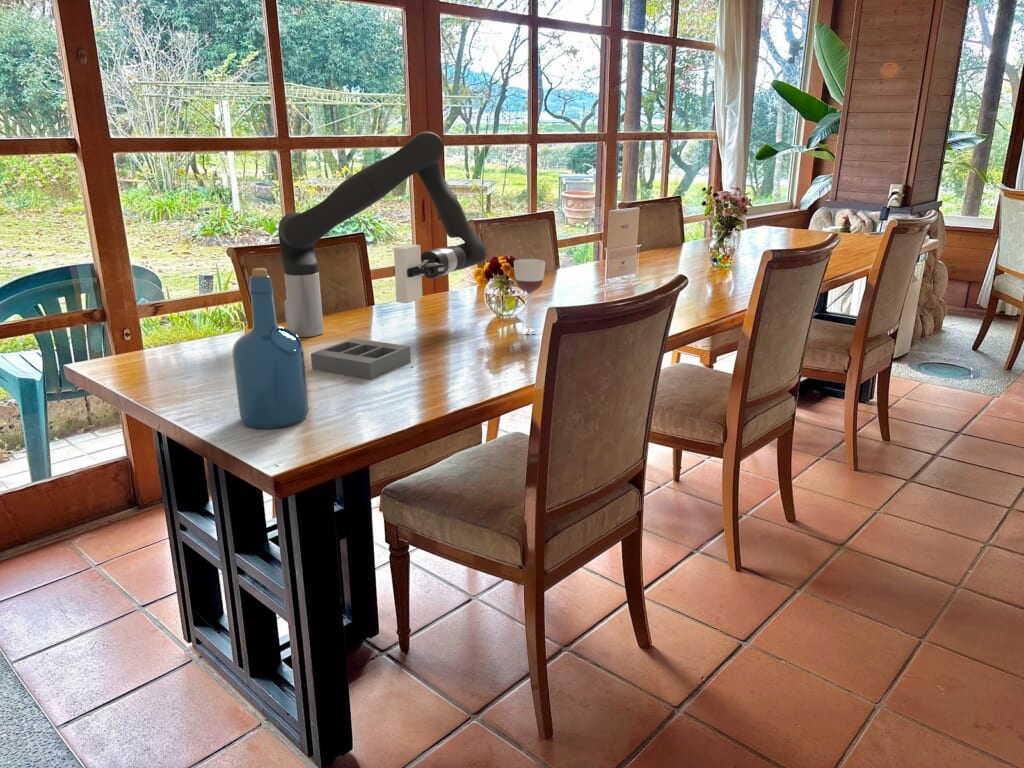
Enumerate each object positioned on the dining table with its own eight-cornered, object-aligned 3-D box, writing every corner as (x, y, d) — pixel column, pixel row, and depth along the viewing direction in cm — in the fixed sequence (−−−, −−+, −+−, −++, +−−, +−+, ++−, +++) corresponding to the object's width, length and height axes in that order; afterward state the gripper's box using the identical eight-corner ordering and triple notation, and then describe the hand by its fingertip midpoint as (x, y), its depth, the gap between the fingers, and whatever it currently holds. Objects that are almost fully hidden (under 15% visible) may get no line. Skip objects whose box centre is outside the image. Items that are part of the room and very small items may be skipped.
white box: (396, 302, 201) (393, 247, 197) (411, 297, 207) (409, 244, 203) (407, 303, 200) (404, 248, 195) (422, 298, 206) (420, 245, 201)
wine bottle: (225, 426, 151) (205, 272, 141) (268, 404, 163) (253, 261, 153) (284, 435, 146) (267, 277, 137) (324, 412, 158) (311, 265, 148)
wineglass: (542, 336, 215) (542, 264, 209) (511, 334, 217) (511, 263, 211) (546, 329, 223) (547, 259, 216) (516, 327, 224) (516, 258, 218)
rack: (312, 369, 186) (310, 353, 185) (354, 353, 199) (353, 338, 198) (370, 379, 178) (369, 363, 177) (410, 362, 192) (409, 346, 190)
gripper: (416, 247, 215) (378, 255, 201) (459, 250, 209) (424, 260, 194) (417, 274, 217) (380, 284, 203) (460, 278, 211) (425, 289, 197)
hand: (402, 272), depth 199 cm, fingers closed on white box, 3 cm apart
